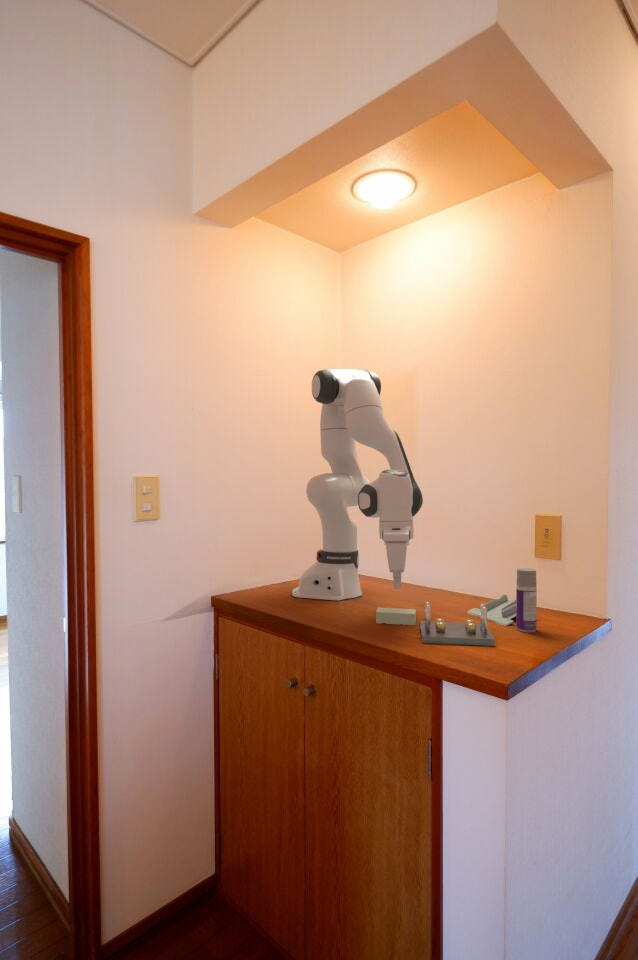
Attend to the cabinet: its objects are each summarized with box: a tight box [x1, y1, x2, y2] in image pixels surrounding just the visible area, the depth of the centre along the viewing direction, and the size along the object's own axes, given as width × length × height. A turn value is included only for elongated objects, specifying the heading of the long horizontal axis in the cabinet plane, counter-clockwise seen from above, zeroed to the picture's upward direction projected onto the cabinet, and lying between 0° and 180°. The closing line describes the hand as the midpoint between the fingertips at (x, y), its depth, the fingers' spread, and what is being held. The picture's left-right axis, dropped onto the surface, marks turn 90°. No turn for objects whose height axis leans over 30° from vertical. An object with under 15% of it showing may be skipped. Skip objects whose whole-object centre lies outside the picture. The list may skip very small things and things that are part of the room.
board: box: [375, 606, 417, 626], centre depth 141 cm, size 10×5×3 cm, turn 79°
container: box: [515, 567, 538, 633], centre depth 134 cm, size 5×5×15 cm
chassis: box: [419, 601, 496, 647], centre depth 128 cm, size 16×13×8 cm
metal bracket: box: [467, 594, 516, 627], centre depth 146 cm, size 14×6×15 cm
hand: (397, 584), depth 141 cm, fingers open, 8 cm apart
